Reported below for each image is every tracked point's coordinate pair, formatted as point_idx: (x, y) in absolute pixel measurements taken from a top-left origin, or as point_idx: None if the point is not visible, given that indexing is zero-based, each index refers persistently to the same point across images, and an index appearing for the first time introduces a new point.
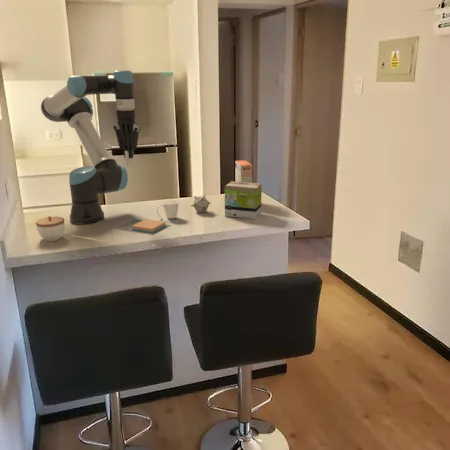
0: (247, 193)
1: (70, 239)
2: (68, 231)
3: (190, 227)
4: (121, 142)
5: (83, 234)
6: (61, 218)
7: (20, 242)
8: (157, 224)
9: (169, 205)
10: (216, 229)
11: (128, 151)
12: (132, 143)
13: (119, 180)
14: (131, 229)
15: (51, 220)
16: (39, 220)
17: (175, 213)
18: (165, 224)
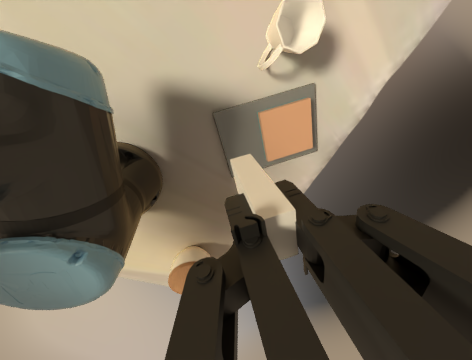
0: None
1: (217, 239)
2: (176, 229)
3: (351, 57)
4: (185, 356)
5: (210, 220)
6: None
7: None
8: (306, 122)
9: (308, 47)
10: (409, 27)
11: (294, 241)
12: (433, 308)
13: (108, 120)
14: (262, 159)
15: None
16: (181, 291)
17: (302, 31)
18: (299, 89)
